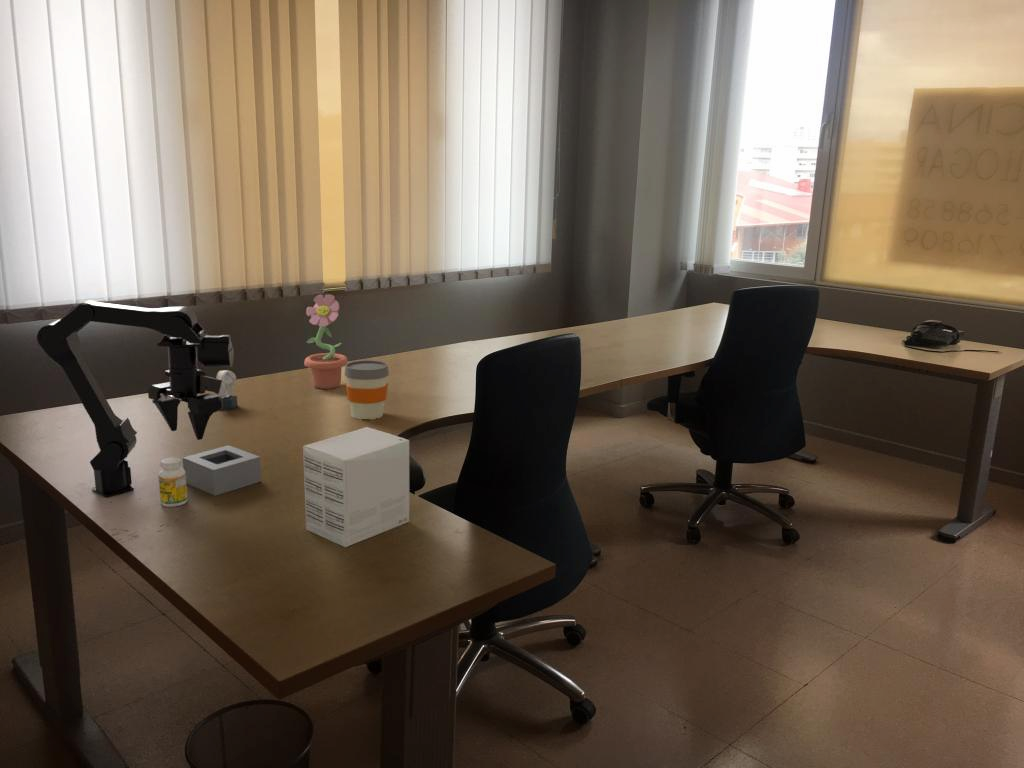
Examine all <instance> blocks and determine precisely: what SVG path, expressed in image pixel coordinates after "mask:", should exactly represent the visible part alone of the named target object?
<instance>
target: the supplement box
mask: <svg viewBox="0 0 1024 768" xmlns="http://www.w3.org/2000/svg"><path fill="white" fill-rule="evenodd" d="M302 451H303V453H302V455H303V479H304V480H303V481H304V486H303V487H304V505H305V506H304V507H305V510H304V511H305V529H306V530H307V531H308V532H311V533H313V534H315V535H317V536H320V537H322V538H324V539H326V540H328V541H330V542H333V543H335V544H337V545H339V546H342V547H343V548H347V547H350V546H351V545H354V544H357V543H359V542H362V541H364V540H367V539H369V538H372V537H375V536H377V535H379V534H382V533H385V532H387V531H390V530H392V529H395V528H397V527H400V526H403V525H404V524H407V523H410V439H406V438H404V437H400V436H398V435H394V434H392V433H388V432H385V431H381V430H379V429H376V428H372V427H371V428H370V427H368V426H366V427H362V428H359V429H356V430H353V431H349V432H345V433H342V434H339V435H336V436H333V437H330V438H325V439H322V440H320V441H315V442H312V443H309V444H305V445H303V446H302Z"/></svg>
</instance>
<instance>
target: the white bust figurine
mask: <svg viewBox="0 0 1024 768" xmlns="http://www.w3.org/2000/svg"><path fill="white" fill-rule="evenodd" d="M215 377H216V378H215V379H219V380H222V384H221V387H220V391H219V394H216V396H219V397H220V398H221V399H222V409H221V410H229V409H230V410H233V408H234V407H235V408H236V407H238V395H233V394H232V393H233V390H234V386H235V384H236V383H235V382H236V380H237V376H236V374H235V373H234V372H233V371H231V370H227V369H225V370H219V371H217V374H216V376H215ZM235 408H234V409H235Z"/></svg>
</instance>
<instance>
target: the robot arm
mask: <svg viewBox="0 0 1024 768" xmlns="http://www.w3.org/2000/svg"><path fill="white" fill-rule="evenodd" d="M197 318H198V317H197V315H196V313H195V312H194V311H193V309H192V308H191V307H188V306H185V305H184V306H183V305H182V306H167V307H159V308H158V307H157V308H149V307H141V306H133V305H125V304H124V305H123V304H115V303H106V302H100V301H95V300H93V299H92V300H91V299H90V300H85V301H83V302H80V303H79V304H78V305H77V306H76V307H75V308H74V309H73V310H72V311H71V312H69V313H67V315H65V316H63V317H62V318H61V319H57V320H56V319H55V320H54V321H52V322H49V323H47V324H46V325H44V326H42V327H40V328H39V330H38V331H37V334H36V341H37V344H38V346H39V348H41V349H42V351H43V352H44V353H45V354H46V355H47V357H48V358H50V360H51V361H53V362H54V363H56V364H57V365H58V366H60V367H61V369H62V371H63V373H64V375H65V376H66V378H67V380H68V381H69V383H70V385H71V386H72V388H73V390H74V392H75V394H76V396H77V397H78V399H79V401H80V402H81V404H82V406H83V408H84V409H85V412H86V413H87V415H88V416H89V418H90V420H91V422H92V424H93V426H94V430H95V438H96V443H97V446H98V449H99V450H100V451H99V452H98V453H97V454H96V455H95V456H94V457H93V458H92V459H90V461H89V463H90V465H91V467H92V469H93V475H94V476H93V477H94V483H95V484H94V485H95V486H93V487H92V488H91V490H92V491H93V492H94V493H95V492H96V494H98V495H101V496H103V497H105V498H109V497H112V496H116V495H119V494H122V493H126V492H129V491H133V490H134V489H135V486H133V485H132V483H133V481H132V470H131V467H130V466H129V462H128V461H127V460H125V459H126V458H127V457H128V456H129V454H130V453H131V452H132V451H133V450H134V448H135V447H136V444H137V442H138V441H137V437H136V435H137V434H138V431H136V430H135V429H134V427H133V426H132V423H131V420H130V419H129V417H126V418H125V419H121V418H119V416H117V415H116V414H115V413H114V411H113V409H112V407H111V406H110V404H109V402H108V399H107V398H106V396H105V395H104V392H103V391H102V390H101V387H100V386H99V384H98V382H97V381H96V378H95V377H94V375H93V373H92V372H91V370H90V368H89V366H88V365H87V363H86V361H85V359H84V357H83V353H82V352H83V351H82V345H81V344H82V343H81V341H80V338H79V335H78V333H79V332H80V330H82V329H83V328H85V327H86V326H87V325H88V324H89V323H91V322H93V323H94V322H95V323H103V324H109V325H110V324H113V325H118V326H119V325H120V326H129V327H137V328H145V329H149V330H152V331H154V332H157V333H159V334H162V335H164V336H163V337H162V339H161V340H160V341H158V342H157V345H156V346H157V347H161V348H162V347H167V353H168V354H167V355H168V359H167V360H168V370H164V376H166V377H169V381H167V382H162V383H158V384H157V383H156V384H152V385H150V386H149V388H148V390H147V393H148V394H147V395H148V399H151V402H152V404H154V405H155V407H156V409H158V411H159V413H160V414H161V416H162V418H163V419H164V421H165V422H166V424H167V426H168V427H169V429H170V431H171V432H175V431H177V430H178V417H179V416H178V415H179V413H178V412H179V406H180V404H181V402H185V403H187V408H188V410H189V411H187V414H188V418H189V420H190V421H189V422H190V424H191V426H192V429H193V433H194V436H195V437H196V440H198V441H201V440H202V439H203V438H204V435H205V431H206V428H207V426H208V422H209V420H210V418H211V416H212V415H213V414H214V413H217V412H219V410H223V409H222V399H221V398H220V397H219V396H218V395H217V394H219V391H220V387H221V384H222V380H219V379H216V378H215V377H211V376H207V374H206V371H203V370H201V369H199V368H198V362H199V363H200V364H201V365H202V364H203V366H204V367H233V363H234V357H235V356H234V350H235V349H234V347H233V343H232V341H231V339H232V338H231V337H232V336H231V335H230V334H221V335H208V332H207V331H206V329H204V328H203V326H202V325H201V324H200V323H199V322H198V319H197ZM206 392H211V393H206ZM212 393H214V394H212ZM198 394H199V395H198ZM215 394H216V395H215Z"/></svg>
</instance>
